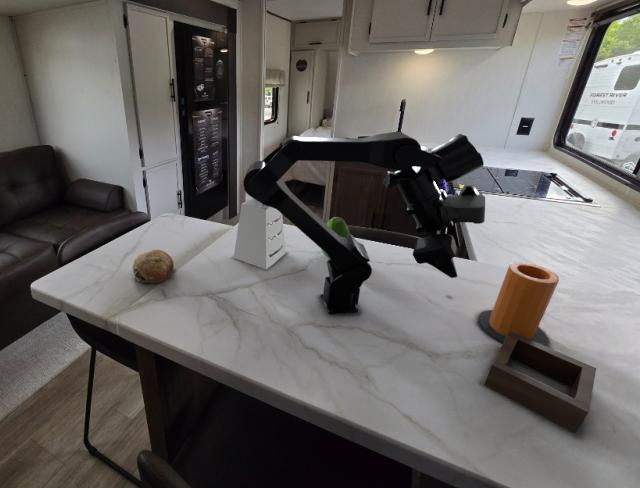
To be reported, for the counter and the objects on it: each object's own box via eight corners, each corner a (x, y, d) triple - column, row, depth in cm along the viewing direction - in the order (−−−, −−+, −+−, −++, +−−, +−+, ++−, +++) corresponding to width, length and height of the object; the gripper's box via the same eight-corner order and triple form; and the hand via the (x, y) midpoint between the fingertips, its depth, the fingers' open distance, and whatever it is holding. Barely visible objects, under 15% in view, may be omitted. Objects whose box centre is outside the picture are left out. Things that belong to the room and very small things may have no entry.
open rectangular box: (575, 434, 48) (588, 412, 46) (483, 384, 55) (491, 364, 54) (584, 388, 55) (596, 368, 53) (501, 349, 62) (509, 330, 60)
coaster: (507, 353, 62) (508, 351, 61) (465, 313, 72) (465, 311, 71) (563, 348, 62) (564, 346, 62) (513, 310, 72) (514, 308, 72)
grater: (254, 243, 101) (255, 178, 93) (285, 253, 95) (289, 185, 87) (233, 257, 93) (232, 188, 85) (266, 269, 88) (268, 196, 79)
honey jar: (522, 346, 62) (548, 287, 57) (481, 323, 68) (501, 268, 63) (540, 332, 66) (566, 275, 60) (500, 312, 71) (520, 258, 66)
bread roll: (132, 287, 87) (119, 269, 81) (152, 255, 93) (140, 236, 87) (165, 295, 83) (153, 278, 78) (183, 262, 89) (174, 243, 84)
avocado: (316, 261, 91) (320, 220, 86) (321, 248, 97) (325, 209, 93) (347, 267, 88) (353, 225, 83) (350, 253, 95) (356, 213, 90)
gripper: (470, 207, 50) (509, 288, 54) (473, 158, 63) (504, 225, 67) (395, 226, 58) (433, 296, 61) (411, 179, 71) (442, 238, 74)
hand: (455, 261), depth 66 cm, fingers open, 9 cm apart
